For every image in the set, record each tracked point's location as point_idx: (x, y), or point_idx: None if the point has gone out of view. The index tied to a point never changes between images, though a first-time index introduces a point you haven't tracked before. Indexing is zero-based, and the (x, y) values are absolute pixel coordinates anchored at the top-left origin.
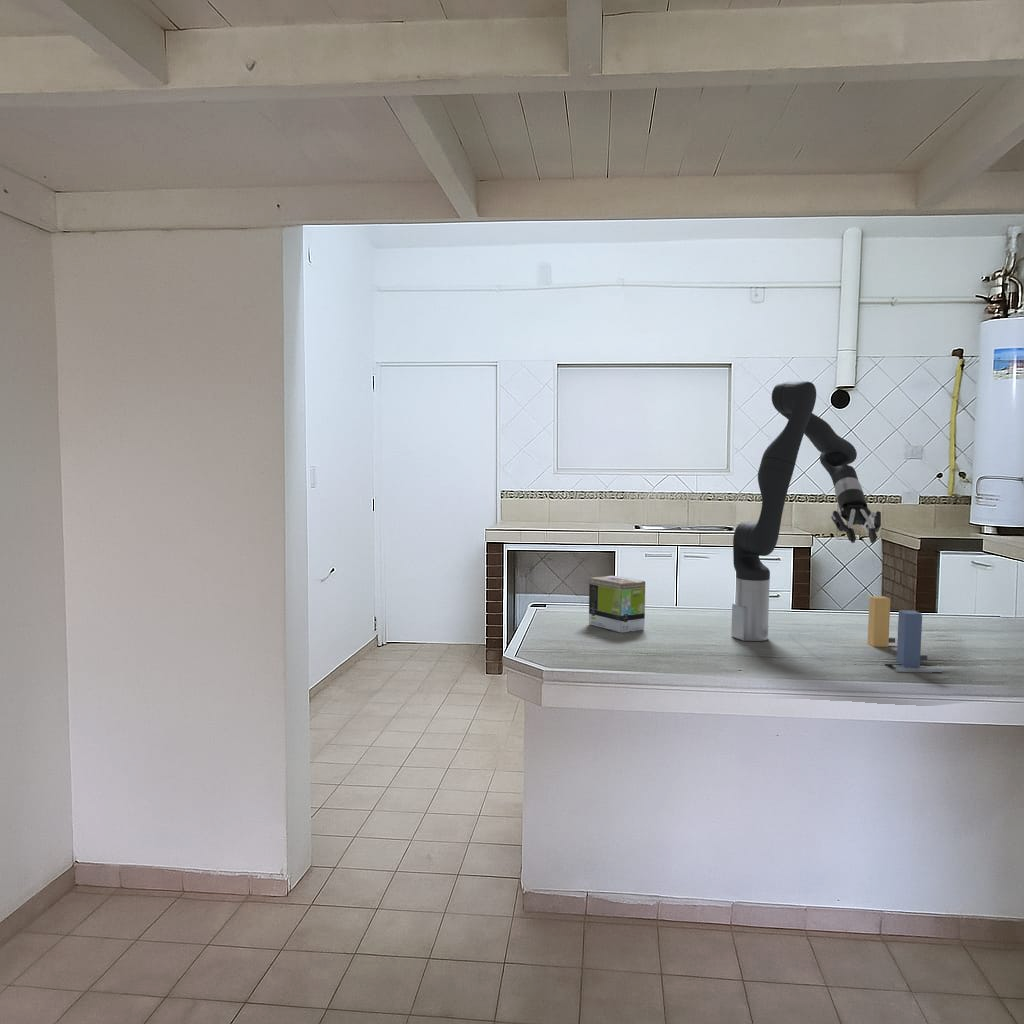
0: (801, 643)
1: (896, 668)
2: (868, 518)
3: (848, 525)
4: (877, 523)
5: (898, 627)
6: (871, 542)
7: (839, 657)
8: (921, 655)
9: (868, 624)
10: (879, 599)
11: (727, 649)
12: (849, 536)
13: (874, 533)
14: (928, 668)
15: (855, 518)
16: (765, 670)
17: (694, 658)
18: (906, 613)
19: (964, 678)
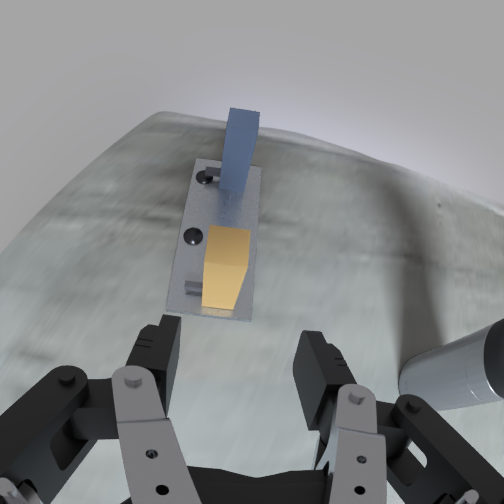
0: (349, 348)
1: (260, 167)
2: (140, 444)
3: (371, 401)
4: (64, 395)
5: (252, 152)
6: (178, 353)
7: (314, 247)
8: (213, 168)
9: (237, 295)
10: (238, 229)
11: (455, 301)
12: (340, 359)
13: (144, 351)
14: (215, 160)
15: (301, 487)
16: (416, 200)
17: (480, 257)
18: (257, 112)
19: (184, 141)
